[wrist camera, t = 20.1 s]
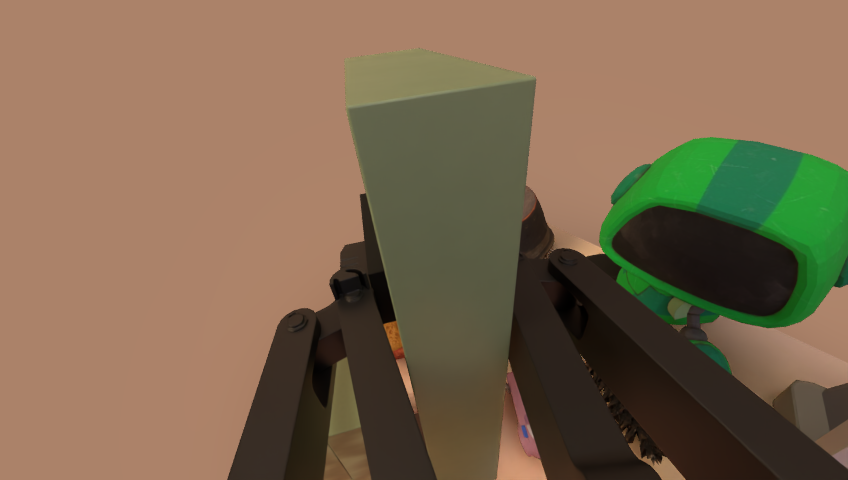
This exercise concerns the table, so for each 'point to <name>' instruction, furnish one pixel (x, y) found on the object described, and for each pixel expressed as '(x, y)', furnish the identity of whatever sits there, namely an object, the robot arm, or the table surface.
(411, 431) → the robot arm
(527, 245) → the hat
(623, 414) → the pine cone
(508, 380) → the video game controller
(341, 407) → the book rack
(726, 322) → the table surface
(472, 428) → the green book
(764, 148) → the robot
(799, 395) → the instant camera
